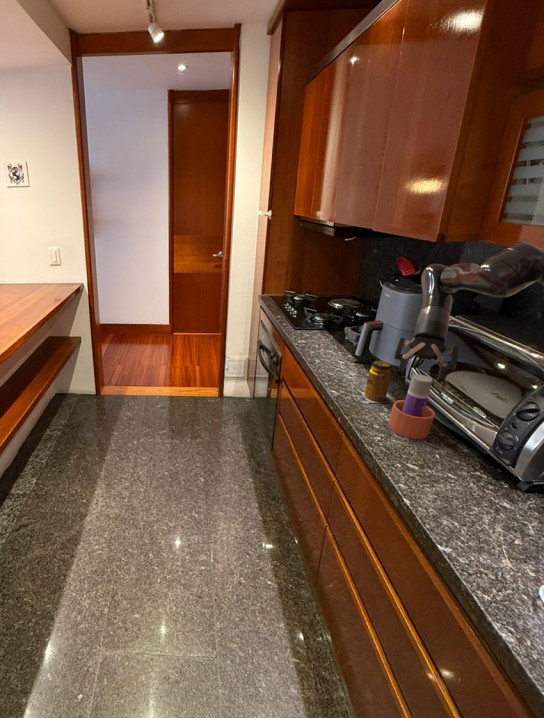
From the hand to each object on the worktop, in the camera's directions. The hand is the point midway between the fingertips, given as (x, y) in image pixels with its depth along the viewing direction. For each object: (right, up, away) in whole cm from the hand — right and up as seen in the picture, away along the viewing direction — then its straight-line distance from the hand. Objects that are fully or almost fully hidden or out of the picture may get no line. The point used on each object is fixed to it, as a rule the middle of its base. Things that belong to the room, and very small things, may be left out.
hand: (420, 376), depth 106 cm
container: (-2, -14, +2) cm, 14 cm away
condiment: (-1, -8, +18) cm, 20 cm away
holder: (-2, -15, +2) cm, 15 cm away
